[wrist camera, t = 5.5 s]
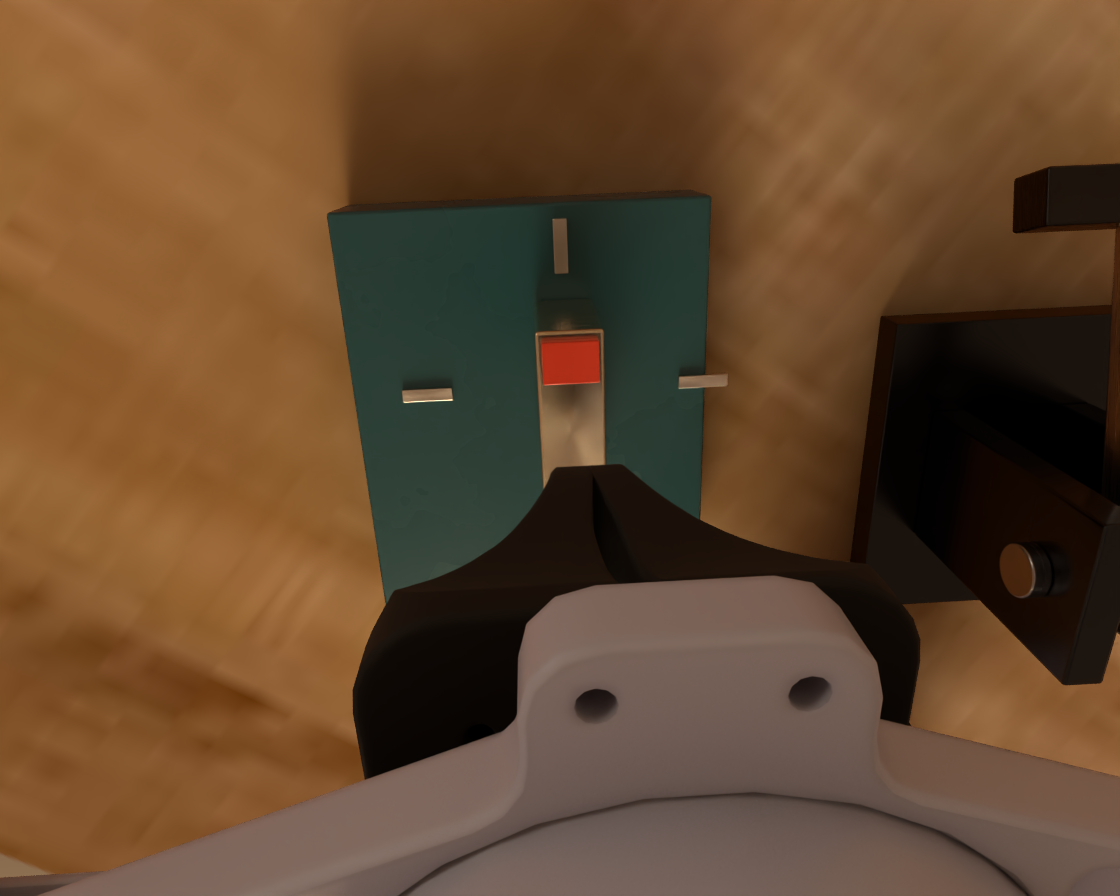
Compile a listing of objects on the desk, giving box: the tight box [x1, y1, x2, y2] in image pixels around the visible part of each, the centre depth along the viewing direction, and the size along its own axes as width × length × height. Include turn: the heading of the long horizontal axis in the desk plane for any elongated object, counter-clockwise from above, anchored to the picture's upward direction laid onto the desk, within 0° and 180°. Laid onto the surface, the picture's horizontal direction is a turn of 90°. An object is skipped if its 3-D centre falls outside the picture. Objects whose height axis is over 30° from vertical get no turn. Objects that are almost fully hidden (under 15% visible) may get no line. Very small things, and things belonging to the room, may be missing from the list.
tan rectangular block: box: [533, 299, 607, 489], centre depth 20 cm, size 5×2×4 cm, turn 2°
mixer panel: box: [327, 190, 728, 604], centre depth 23 cm, size 12×11×3 cm
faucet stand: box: [850, 305, 1120, 685], centre depth 21 cm, size 10×8×9 cm
